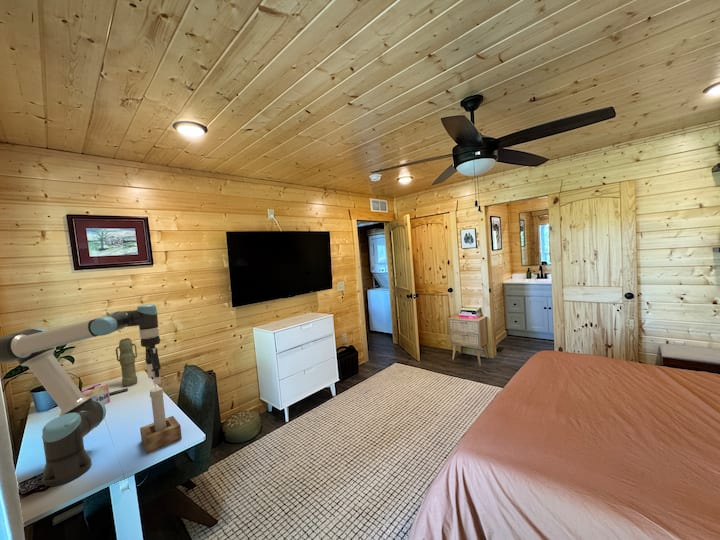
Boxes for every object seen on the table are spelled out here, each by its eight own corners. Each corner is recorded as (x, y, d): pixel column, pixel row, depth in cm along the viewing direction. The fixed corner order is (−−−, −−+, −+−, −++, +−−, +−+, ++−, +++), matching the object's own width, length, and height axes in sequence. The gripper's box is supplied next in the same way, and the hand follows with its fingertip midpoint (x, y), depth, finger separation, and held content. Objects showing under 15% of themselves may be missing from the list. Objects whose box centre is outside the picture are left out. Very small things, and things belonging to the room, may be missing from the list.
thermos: (119, 387, 221) (113, 340, 220) (139, 381, 229) (133, 336, 228) (120, 390, 215) (115, 342, 213) (141, 384, 223) (135, 338, 221)
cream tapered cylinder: (161, 441, 145) (154, 380, 143) (150, 441, 146) (143, 380, 145) (171, 434, 150) (164, 375, 149) (160, 434, 151) (153, 375, 150)
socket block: (147, 453, 138) (145, 438, 138) (141, 441, 148) (140, 427, 148) (181, 438, 148) (180, 425, 147) (174, 428, 158) (172, 415, 157)
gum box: (102, 402, 198) (100, 383, 198) (112, 401, 197) (110, 382, 197) (65, 420, 176) (62, 399, 176) (76, 420, 175) (73, 399, 175)
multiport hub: (108, 396, 208) (107, 393, 208) (128, 391, 214) (127, 387, 214) (107, 398, 204) (107, 395, 204) (128, 393, 211) (127, 389, 211)
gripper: (165, 338, 139) (169, 383, 140) (153, 331, 157) (157, 371, 158) (145, 342, 134) (150, 389, 135) (135, 335, 152) (140, 376, 153)
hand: (154, 380), depth 146 cm, fingers open, 13 cm apart
